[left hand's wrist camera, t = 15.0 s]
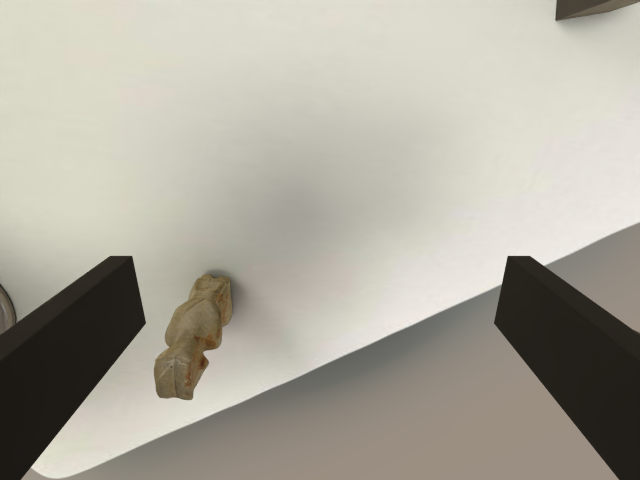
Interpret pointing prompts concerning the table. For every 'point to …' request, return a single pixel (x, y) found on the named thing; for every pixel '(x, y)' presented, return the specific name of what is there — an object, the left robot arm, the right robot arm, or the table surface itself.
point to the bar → (588, 7)
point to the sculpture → (193, 337)
